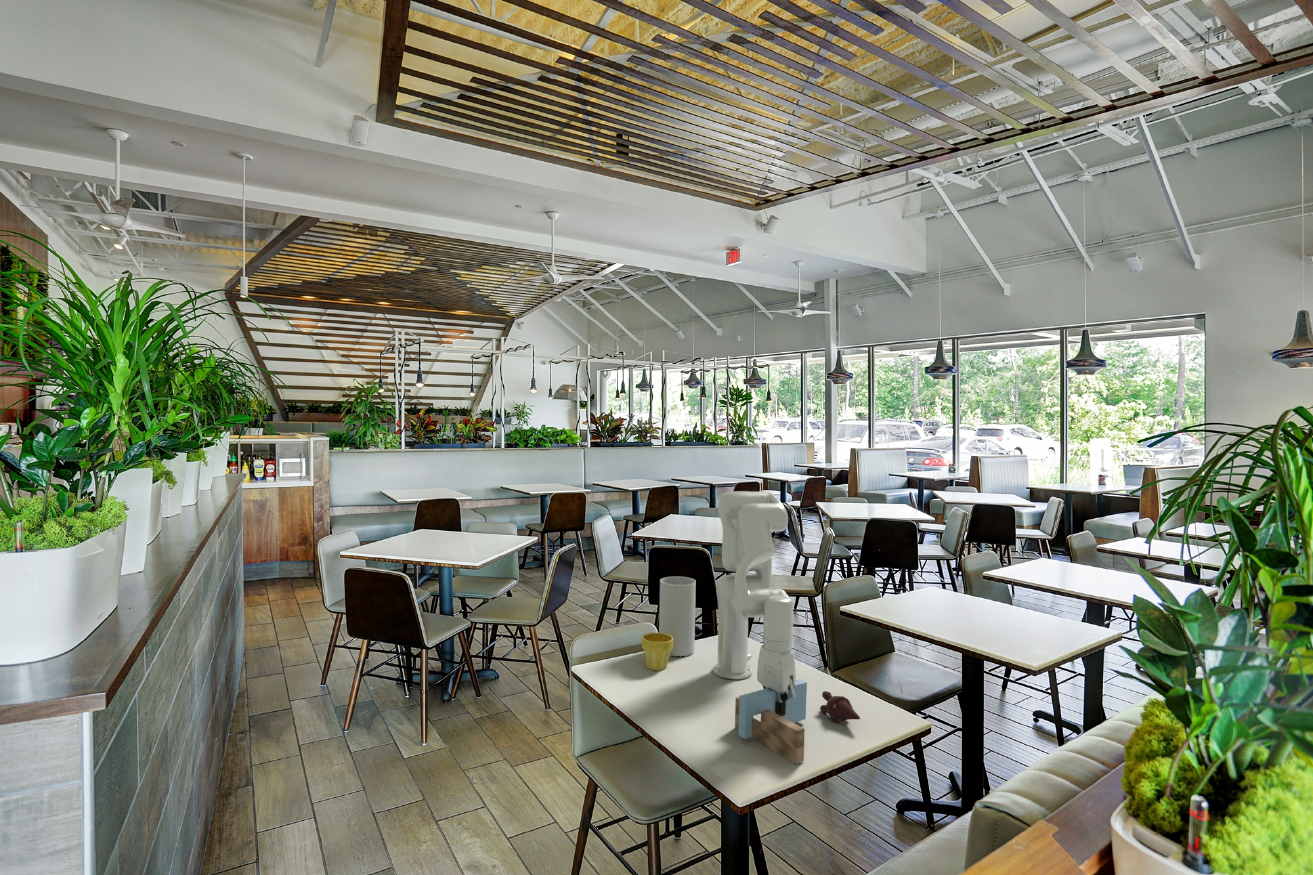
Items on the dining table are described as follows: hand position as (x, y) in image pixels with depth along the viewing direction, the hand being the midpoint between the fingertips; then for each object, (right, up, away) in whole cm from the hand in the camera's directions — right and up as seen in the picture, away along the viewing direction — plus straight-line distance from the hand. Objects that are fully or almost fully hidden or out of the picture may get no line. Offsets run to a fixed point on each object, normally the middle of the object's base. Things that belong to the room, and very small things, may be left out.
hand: (776, 713), depth 170 cm
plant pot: (-31, -3, +44) cm, 54 cm away
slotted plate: (-1, -3, -1) cm, 4 cm away
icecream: (+19, -5, +7) cm, 20 cm away
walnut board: (-3, -5, -7) cm, 9 cm away
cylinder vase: (-24, -3, +58) cm, 63 cm away
